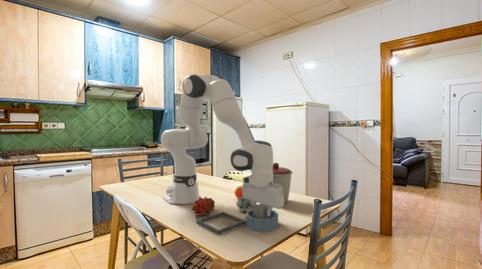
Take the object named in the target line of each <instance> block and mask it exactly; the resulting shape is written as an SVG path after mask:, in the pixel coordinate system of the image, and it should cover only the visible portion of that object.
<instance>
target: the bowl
mask: <svg viewBox="0 0 482 269" xmlns="http://www.w3.org/2000/svg"><path fill="white" fill-rule="evenodd" d="M245 220H246V224H245V225H246V227H247V228H248V229H250V230H252V231H256V232H272V231H274V230H276V229H278V227H279V213H278V212H277V211H276V210H273V209H272V210H271V215H270V219H256V218H253V209H252V210H249V211H247V212H246V213H245Z"/></svg>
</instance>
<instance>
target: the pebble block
mask: <svg viewBox="0 0 482 269" xmlns="http://www.w3.org/2000/svg"><path fill="white" fill-rule="evenodd" d="M267 210H268V208H267V205H264V204H261V203H258V204H257V205H255V206H253V218H256V219H270V216H266V215H265V211H267Z"/></svg>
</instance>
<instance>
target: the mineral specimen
mask: <svg viewBox="0 0 482 269" xmlns="http://www.w3.org/2000/svg"><path fill="white" fill-rule="evenodd" d="M235 205H236V207H237V208H238V210H239V211H240V212H246V213H247V211H249V210H252V209H253V205H252V203H251V200H248V199H245V198H243V197H242V198H240V199H239V198H237V202H236V203H235Z"/></svg>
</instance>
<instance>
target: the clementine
mask: <svg viewBox="0 0 482 269" xmlns="http://www.w3.org/2000/svg"><path fill="white" fill-rule="evenodd" d="M234 189H235V190H234V195H235V197H236V198H237V199H240V198H242V197H243V196H242V185H238V186H237V187H236V188H234Z"/></svg>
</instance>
